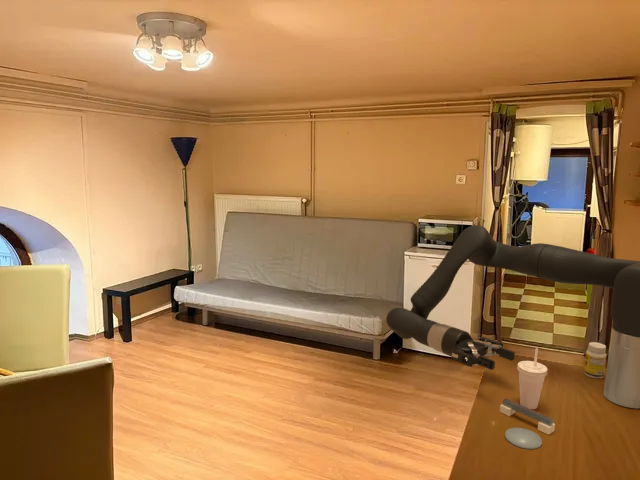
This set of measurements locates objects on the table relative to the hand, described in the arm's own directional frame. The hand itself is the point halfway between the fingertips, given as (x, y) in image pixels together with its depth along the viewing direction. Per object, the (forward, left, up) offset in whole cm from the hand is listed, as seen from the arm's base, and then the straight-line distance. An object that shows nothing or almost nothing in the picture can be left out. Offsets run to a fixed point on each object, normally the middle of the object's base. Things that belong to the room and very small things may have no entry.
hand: (504, 361), depth 119 cm
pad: (+17, +9, -8) cm, 21 cm away
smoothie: (+2, +7, -9) cm, 11 cm away
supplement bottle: (-25, +17, -9) cm, 31 cm away
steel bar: (+9, +8, -7) cm, 14 cm away
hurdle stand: (+9, +8, -8) cm, 15 cm away
